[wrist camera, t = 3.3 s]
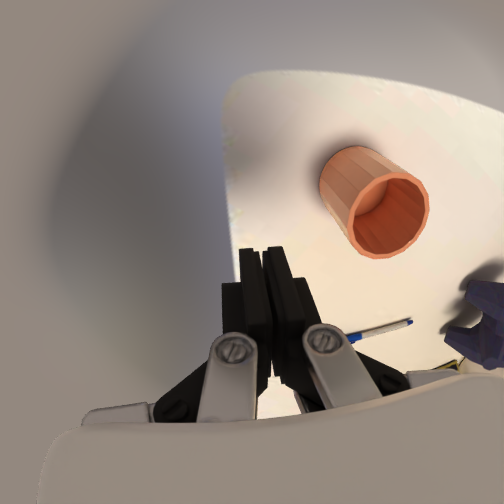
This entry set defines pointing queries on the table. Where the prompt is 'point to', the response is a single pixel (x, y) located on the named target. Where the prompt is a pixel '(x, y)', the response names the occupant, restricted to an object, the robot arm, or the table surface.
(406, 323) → the ballpoint pen
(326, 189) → the cup
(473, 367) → the mug
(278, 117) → the table surface
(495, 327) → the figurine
